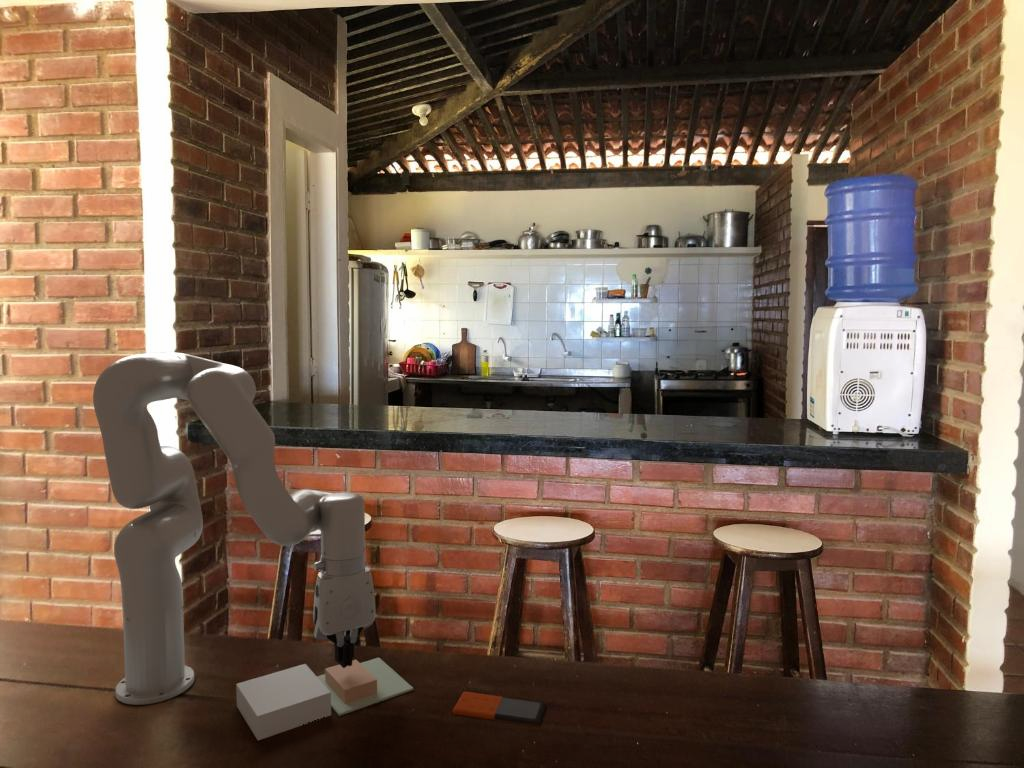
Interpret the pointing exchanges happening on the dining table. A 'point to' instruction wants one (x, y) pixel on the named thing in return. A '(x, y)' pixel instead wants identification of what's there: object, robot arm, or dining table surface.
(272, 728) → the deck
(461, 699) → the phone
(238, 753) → the dining table surface
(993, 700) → the dining table surface
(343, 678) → the salmon rectangular block
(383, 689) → the mat
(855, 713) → the dining table surface
